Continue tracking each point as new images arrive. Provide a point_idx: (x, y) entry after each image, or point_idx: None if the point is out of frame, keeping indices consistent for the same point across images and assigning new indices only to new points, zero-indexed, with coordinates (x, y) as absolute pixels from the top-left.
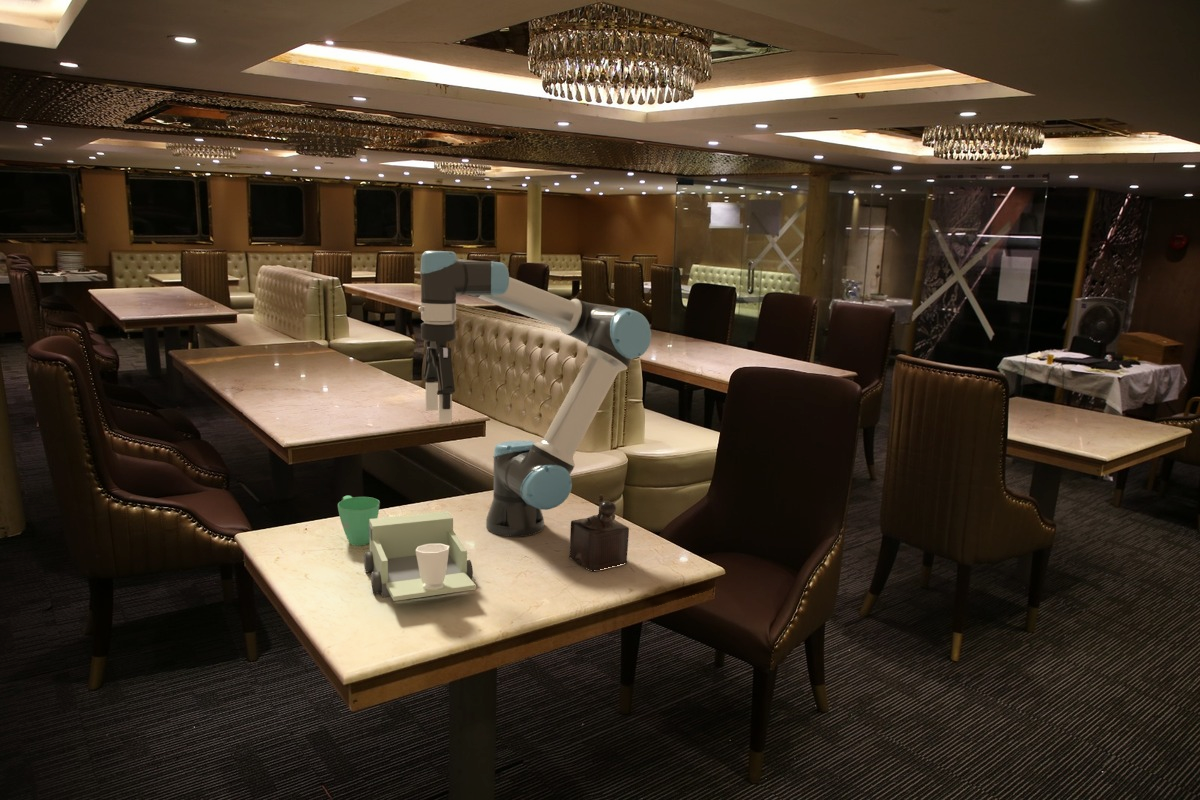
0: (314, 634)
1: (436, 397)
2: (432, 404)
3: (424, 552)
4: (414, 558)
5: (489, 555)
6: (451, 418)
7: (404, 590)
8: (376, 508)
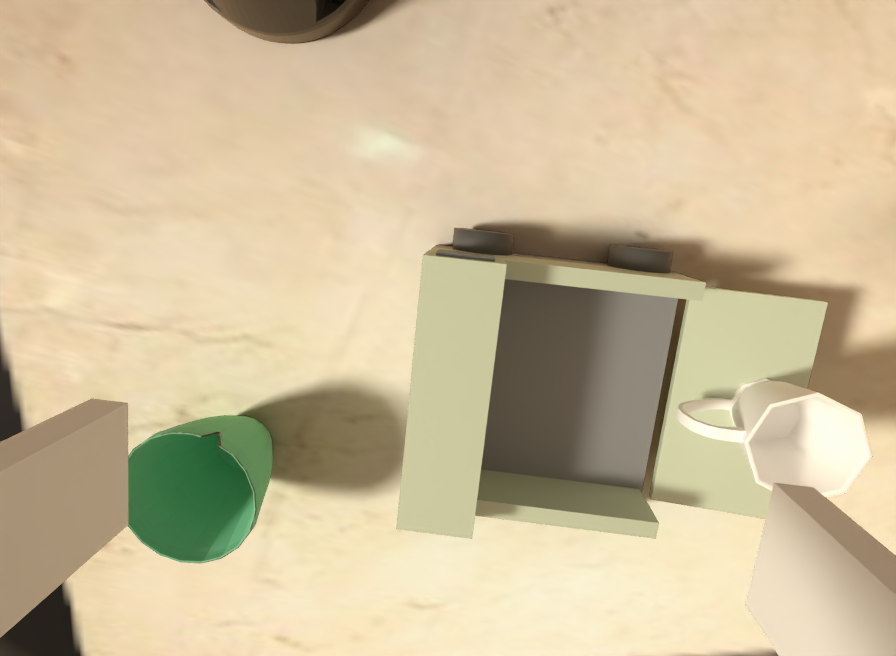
0: (734, 652)
1: (6, 487)
2: (82, 494)
3: (845, 490)
4: (510, 378)
5: (494, 124)
6: (847, 519)
7: (743, 481)
8: (238, 451)
